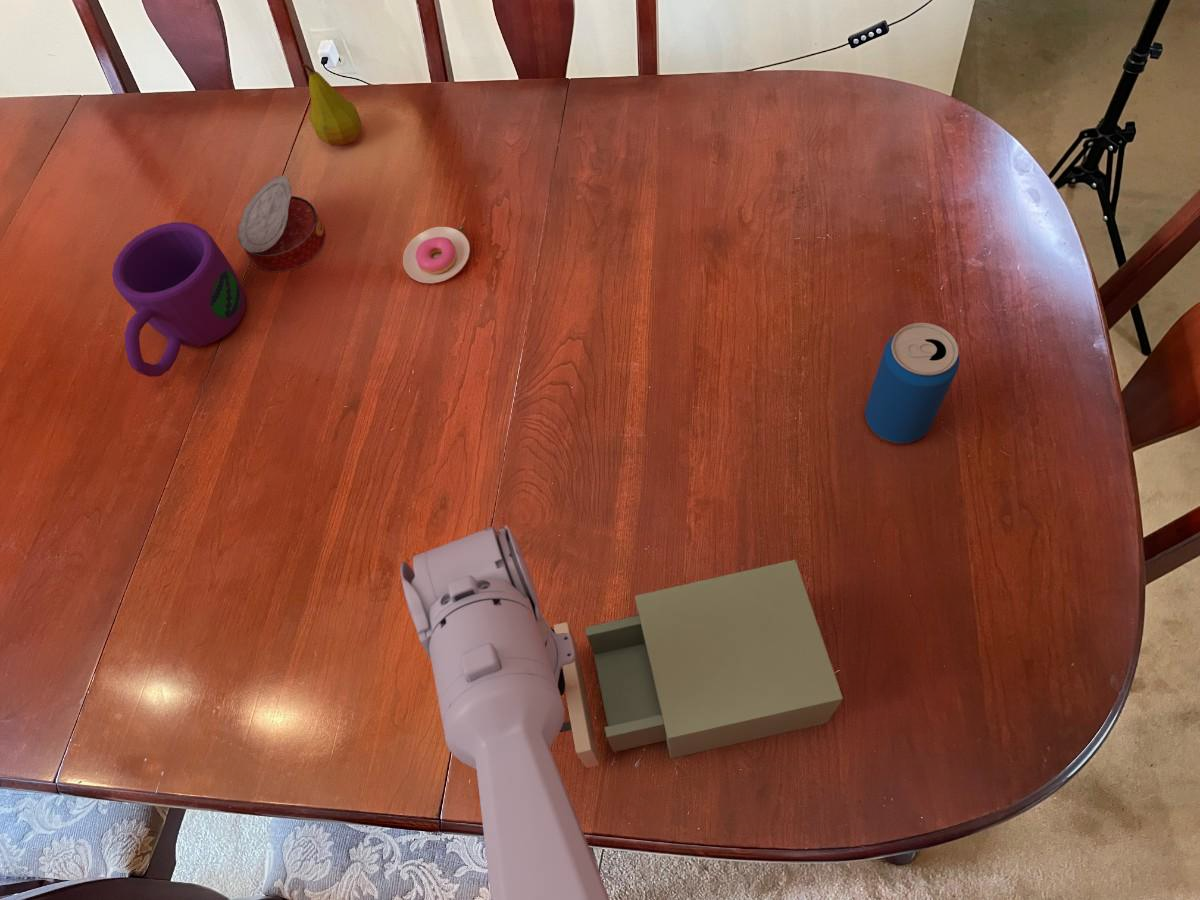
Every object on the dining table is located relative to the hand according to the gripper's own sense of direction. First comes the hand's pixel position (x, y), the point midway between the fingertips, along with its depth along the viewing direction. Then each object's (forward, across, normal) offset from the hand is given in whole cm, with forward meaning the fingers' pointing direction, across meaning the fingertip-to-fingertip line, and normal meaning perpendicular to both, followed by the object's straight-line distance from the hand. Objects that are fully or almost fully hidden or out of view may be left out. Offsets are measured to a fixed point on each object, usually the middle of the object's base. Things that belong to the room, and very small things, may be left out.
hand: (538, 691), depth 66 cm
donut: (+9, +57, +4) cm, 58 cm away
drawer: (+8, 0, -6) cm, 10 cm away
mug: (+9, +52, +34) cm, 63 cm away
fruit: (+9, +81, +15) cm, 83 cm away
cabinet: (+9, 0, -16) cm, 18 cm away
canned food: (+9, +64, +23) cm, 69 cm away
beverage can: (+9, +21, -39) cm, 45 cm away
